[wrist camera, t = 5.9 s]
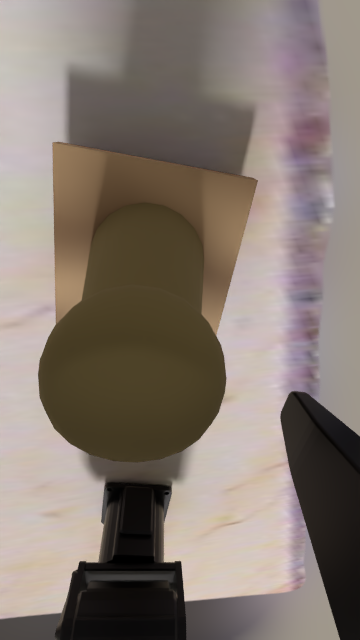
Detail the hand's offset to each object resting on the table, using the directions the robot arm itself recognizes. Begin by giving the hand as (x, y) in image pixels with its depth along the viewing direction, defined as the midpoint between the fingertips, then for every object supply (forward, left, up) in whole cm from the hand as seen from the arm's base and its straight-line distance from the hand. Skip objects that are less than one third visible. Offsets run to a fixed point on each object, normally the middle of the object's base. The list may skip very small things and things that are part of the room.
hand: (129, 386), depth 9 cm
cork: (0, 0, -10) cm, 10 cm away
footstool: (0, 0, -13) cm, 13 cm away
